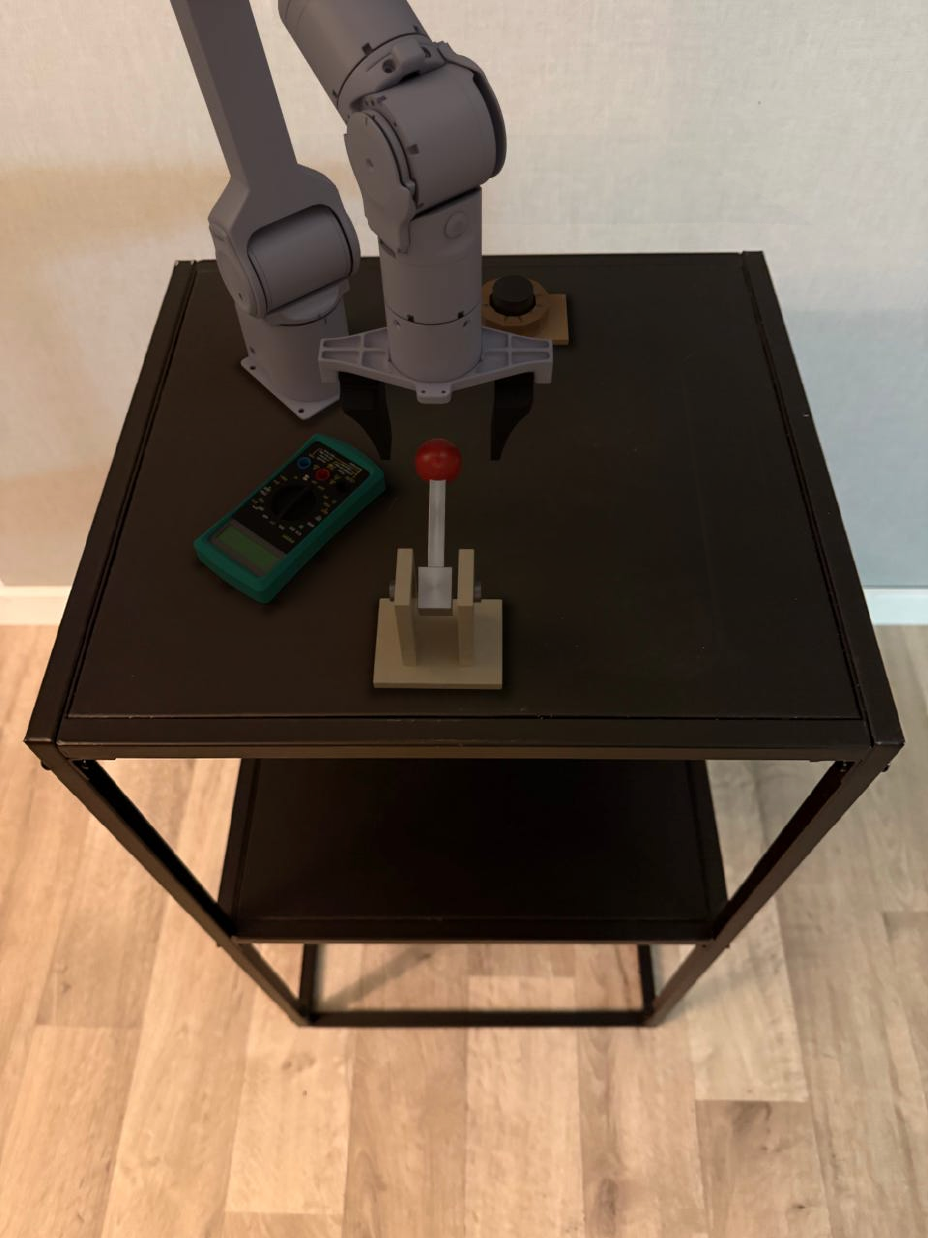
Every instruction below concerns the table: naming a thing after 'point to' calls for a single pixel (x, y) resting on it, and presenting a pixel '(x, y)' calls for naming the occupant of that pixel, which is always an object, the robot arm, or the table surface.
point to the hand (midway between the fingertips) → (440, 449)
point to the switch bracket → (438, 635)
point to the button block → (530, 316)
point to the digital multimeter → (290, 517)
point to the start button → (512, 295)
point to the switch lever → (437, 525)
